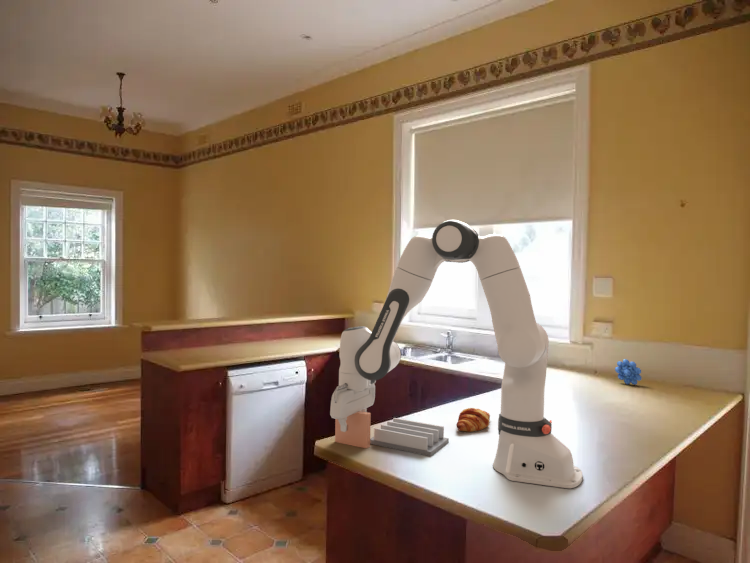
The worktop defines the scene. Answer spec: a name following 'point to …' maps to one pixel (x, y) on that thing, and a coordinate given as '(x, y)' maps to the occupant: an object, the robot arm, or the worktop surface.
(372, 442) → the dish rack
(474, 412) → the croissant
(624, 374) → the blue knobbly flower
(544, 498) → the worktop surface
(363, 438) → the plate tile
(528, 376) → the robot arm
